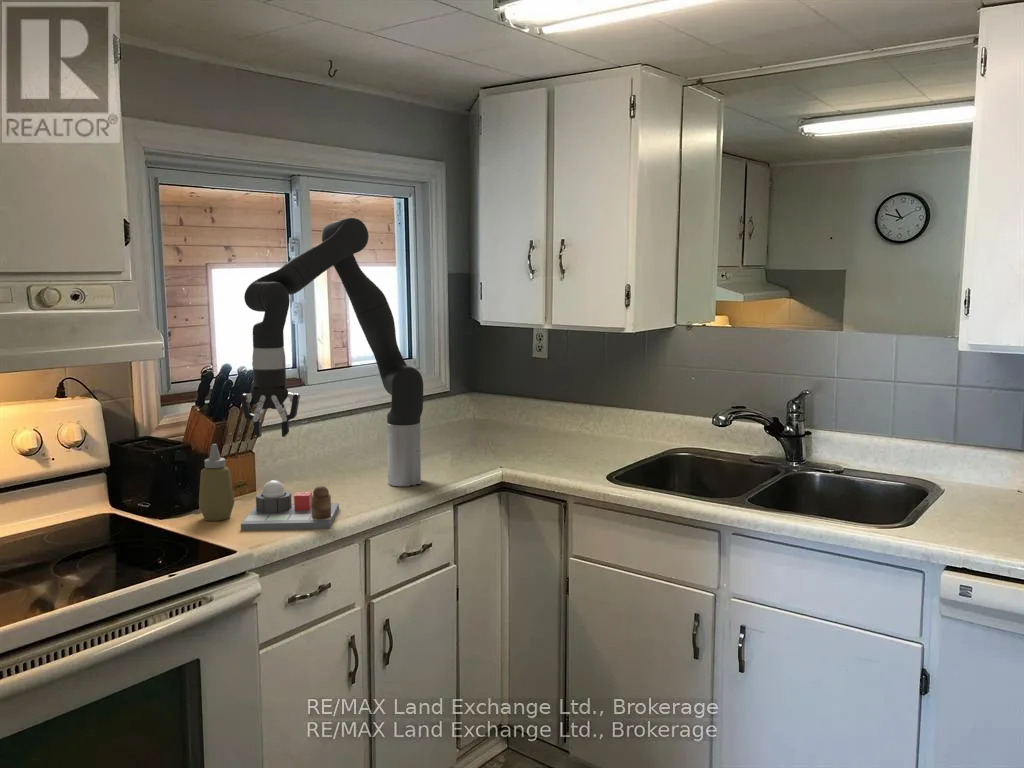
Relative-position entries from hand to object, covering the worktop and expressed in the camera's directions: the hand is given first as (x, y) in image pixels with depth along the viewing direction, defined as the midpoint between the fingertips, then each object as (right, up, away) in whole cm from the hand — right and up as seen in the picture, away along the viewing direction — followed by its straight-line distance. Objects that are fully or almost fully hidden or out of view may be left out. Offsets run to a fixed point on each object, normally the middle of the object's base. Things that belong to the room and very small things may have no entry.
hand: (271, 436), depth 195 cm
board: (+5, -20, -1) cm, 20 cm away
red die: (+7, -18, +3) cm, 19 cm away
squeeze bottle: (-13, -20, 0) cm, 24 cm away
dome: (0, -16, +2) cm, 16 cm away
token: (+13, -19, -4) cm, 23 cm away
